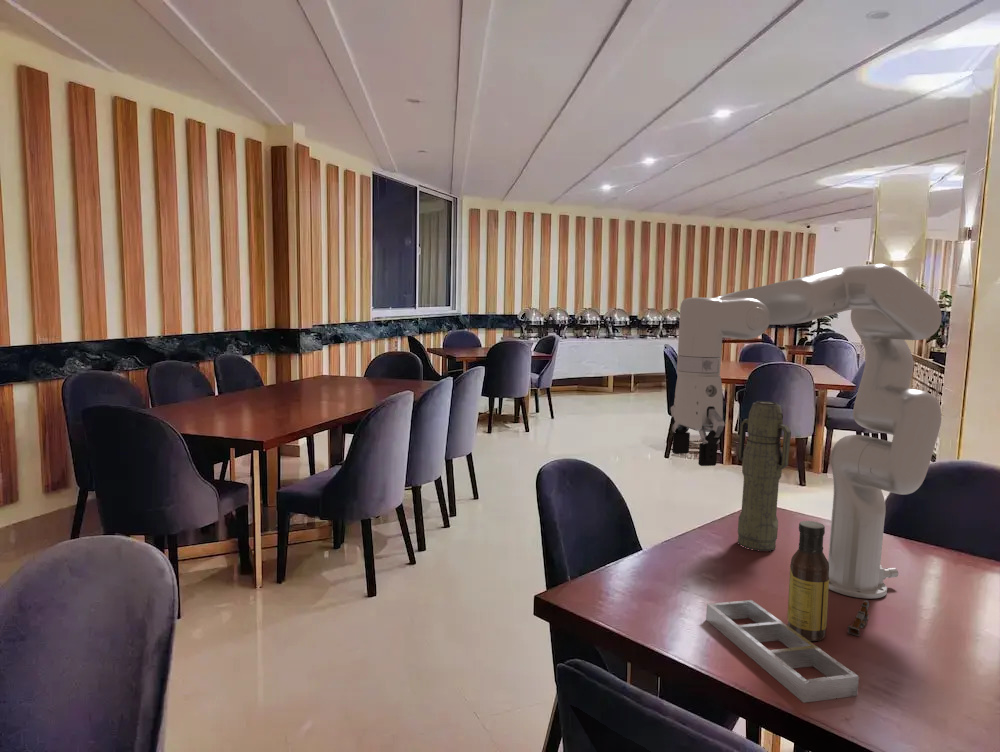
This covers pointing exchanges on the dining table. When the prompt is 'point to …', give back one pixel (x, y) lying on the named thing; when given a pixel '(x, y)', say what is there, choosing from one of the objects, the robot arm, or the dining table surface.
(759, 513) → the thermos
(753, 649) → the rack with square compartments
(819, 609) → the sauce bottle
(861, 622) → the wooden post with brackets
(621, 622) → the dining table surface
